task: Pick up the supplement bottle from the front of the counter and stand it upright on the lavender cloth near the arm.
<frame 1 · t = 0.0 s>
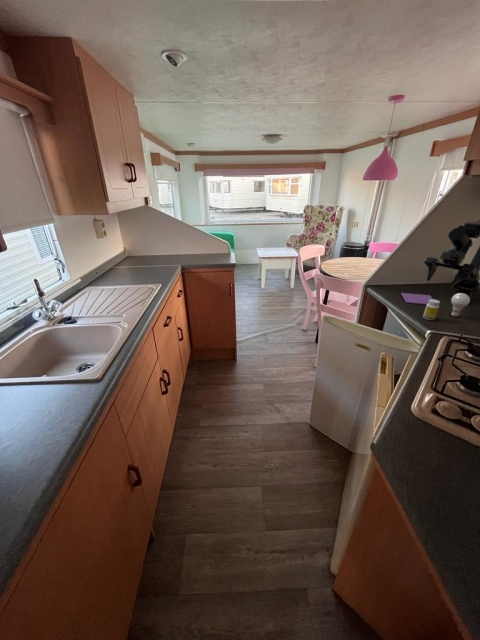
hand: (438, 283, 116), 15 cm above the counter, tool tilted 35°, fingers open, 9 cm apart
supplement bottle: (428, 318, 119), on the counter
lightbulb: (454, 316, 121), on the counter
cloth: (418, 299, 140), on the counter
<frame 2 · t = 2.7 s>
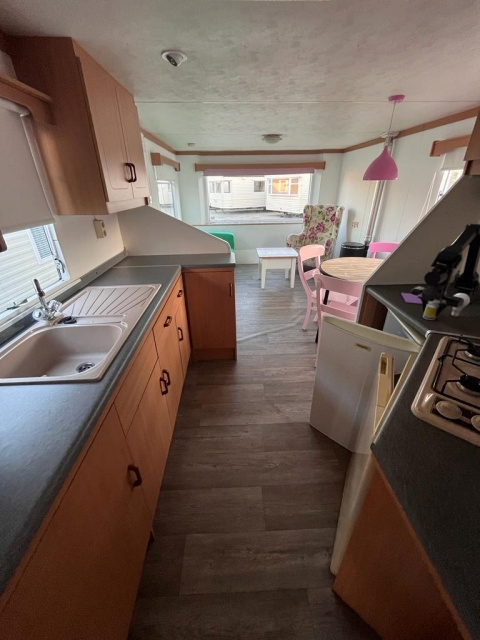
hand: (430, 314, 118), 2 cm above the counter, tool pointing down, fingers closed on supplement bottle, 5 cm apart
supplement bottle: (428, 318, 119), on the counter, touching gripper
everything else where it was.
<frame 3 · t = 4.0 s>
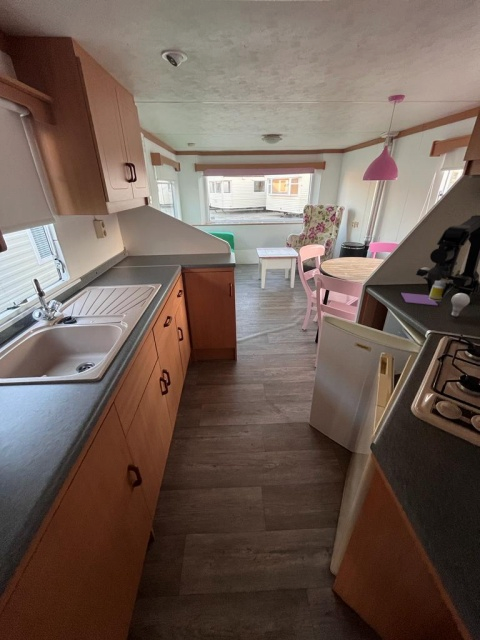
hand: (436, 295, 115), 11 cm above the counter, tool pointing down, fingers closed on supplement bottle, 5 cm apart
supplement bottle: (434, 300, 116), point 9 cm above the counter, touching gripper
everything else where it was.
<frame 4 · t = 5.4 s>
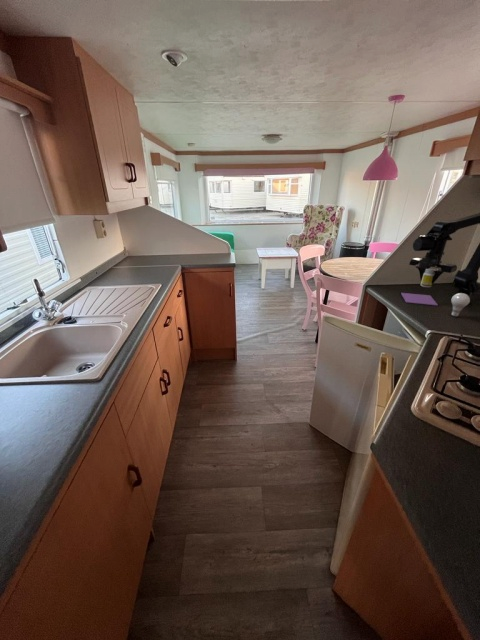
hand: (426, 282, 131), 11 cm above the counter, tool pointing down, fingers closed on supplement bottle, 5 cm apart
supplement bottle: (425, 286, 132), point 9 cm above the counter, touching gripper
everything else where it was.
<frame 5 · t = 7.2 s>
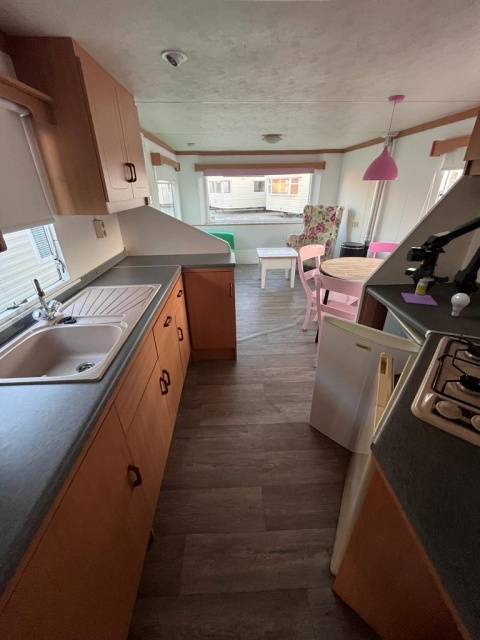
hand: (421, 291, 138), 4 cm above the counter, tool pointing down, fingers closed on supplement bottle, 5 cm apart
supplement bottle: (419, 295, 139), point 2 cm above the counter, touching gripper
everything else where it was.
when the fingers open (2 cm above the counter, at t = 8.2 s): supplement bottle stays where it is, resting on cloth.
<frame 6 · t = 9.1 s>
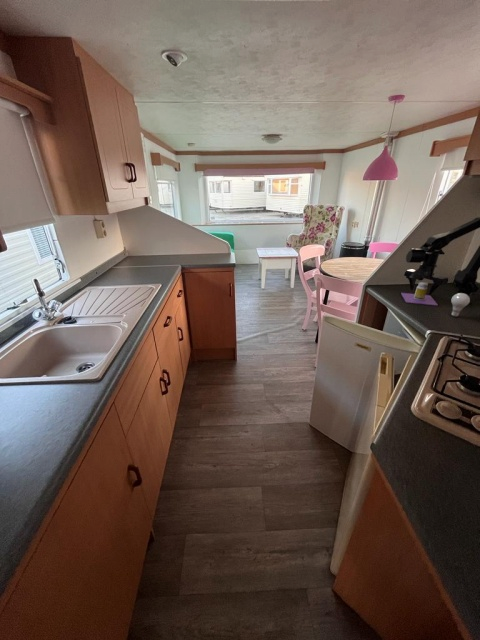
hand: (420, 292, 138), 4 cm above the counter, tool pointing down, fingers open, 9 cm apart
supplement bottle: (418, 298, 139), resting on cloth
everything else where it was.
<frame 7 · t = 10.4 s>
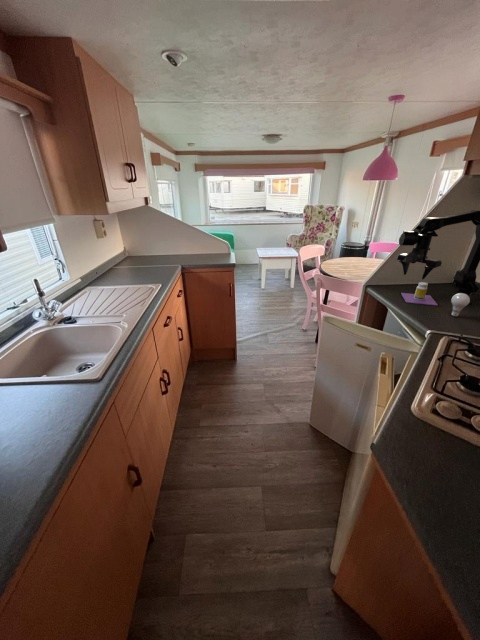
hand: (413, 276, 135), 12 cm above the counter, tool pointing down, fingers open, 9 cm apart
nothing on the counter moved.
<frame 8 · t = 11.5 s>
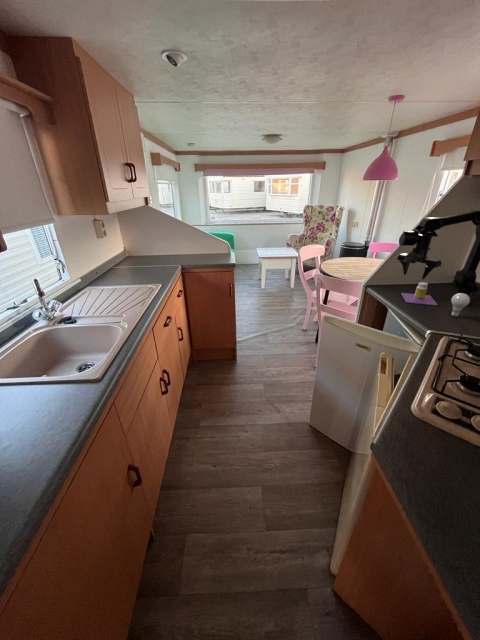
hand: (413, 276, 135), 12 cm above the counter, tool pointing down, fingers open, 9 cm apart
nothing on the counter moved.
at the end: supplement bottle inside the target area on the cloth (0.1 cm from its centre), point 0.2 cm above the cloth's base; supplement bottle tilted 0°; the gripper is holding nothing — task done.
